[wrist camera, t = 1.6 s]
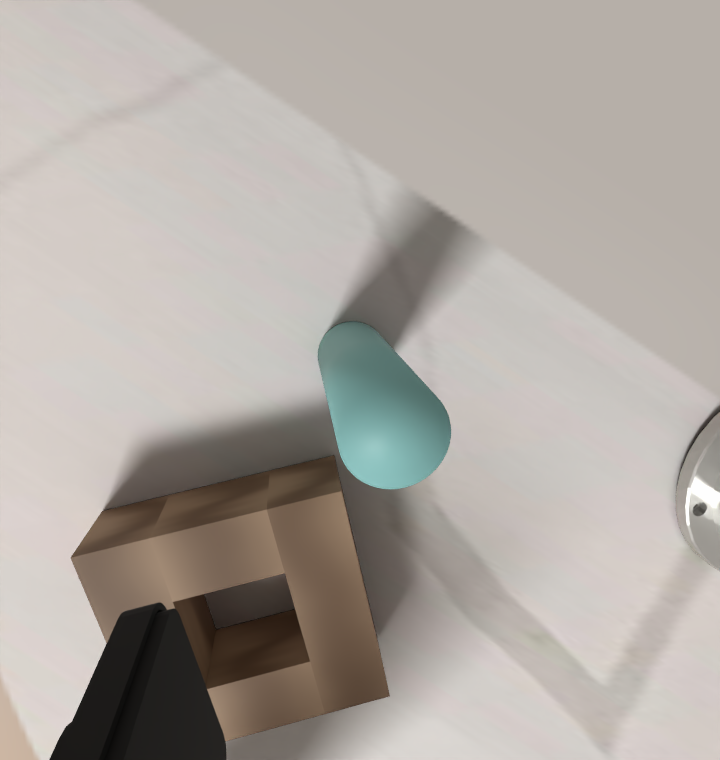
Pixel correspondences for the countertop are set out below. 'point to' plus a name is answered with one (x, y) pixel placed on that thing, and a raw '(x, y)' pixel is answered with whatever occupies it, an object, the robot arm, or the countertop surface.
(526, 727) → the countertop surface
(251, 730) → the socket block
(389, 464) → the dowel
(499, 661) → the countertop surface
